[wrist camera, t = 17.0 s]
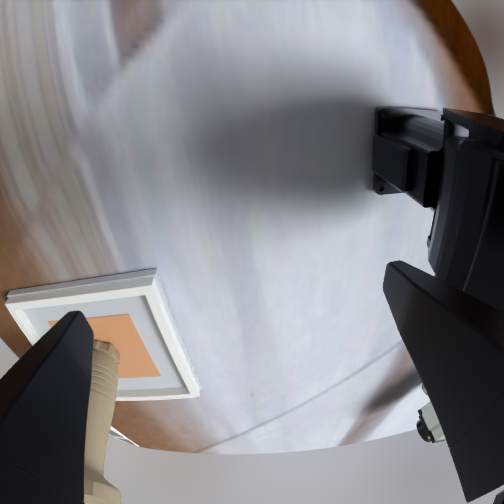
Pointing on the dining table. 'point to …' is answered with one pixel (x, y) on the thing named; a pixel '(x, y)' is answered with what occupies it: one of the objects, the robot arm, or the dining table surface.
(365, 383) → the dining table surface
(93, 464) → the handle
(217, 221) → the dining table surface
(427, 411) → the pneumatic valve
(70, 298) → the white shallow tray
